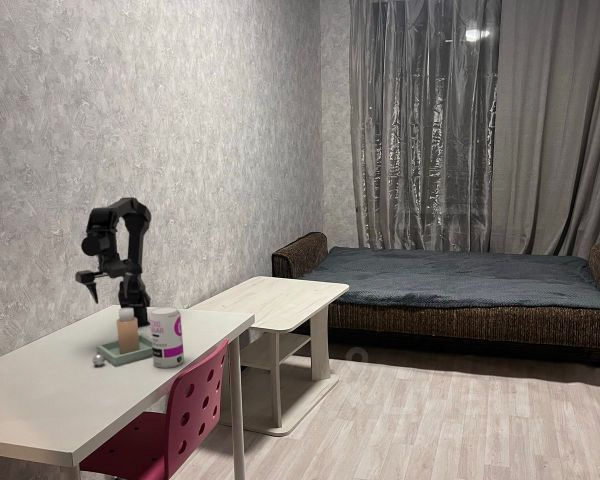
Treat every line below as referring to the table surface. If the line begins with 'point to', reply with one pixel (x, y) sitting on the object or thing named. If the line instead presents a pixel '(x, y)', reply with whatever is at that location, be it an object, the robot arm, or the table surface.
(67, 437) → the table surface
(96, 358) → the ball
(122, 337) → the shaker
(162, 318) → the supplement can
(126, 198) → the robot arm
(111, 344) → the tray
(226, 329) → the table surface
